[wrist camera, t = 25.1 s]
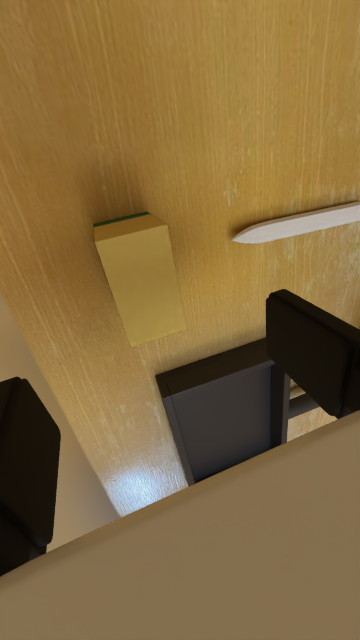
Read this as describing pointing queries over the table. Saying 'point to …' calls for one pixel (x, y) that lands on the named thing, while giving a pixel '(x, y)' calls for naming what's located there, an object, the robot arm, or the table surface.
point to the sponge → (141, 276)
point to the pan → (226, 409)
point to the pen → (299, 224)
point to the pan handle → (301, 405)
